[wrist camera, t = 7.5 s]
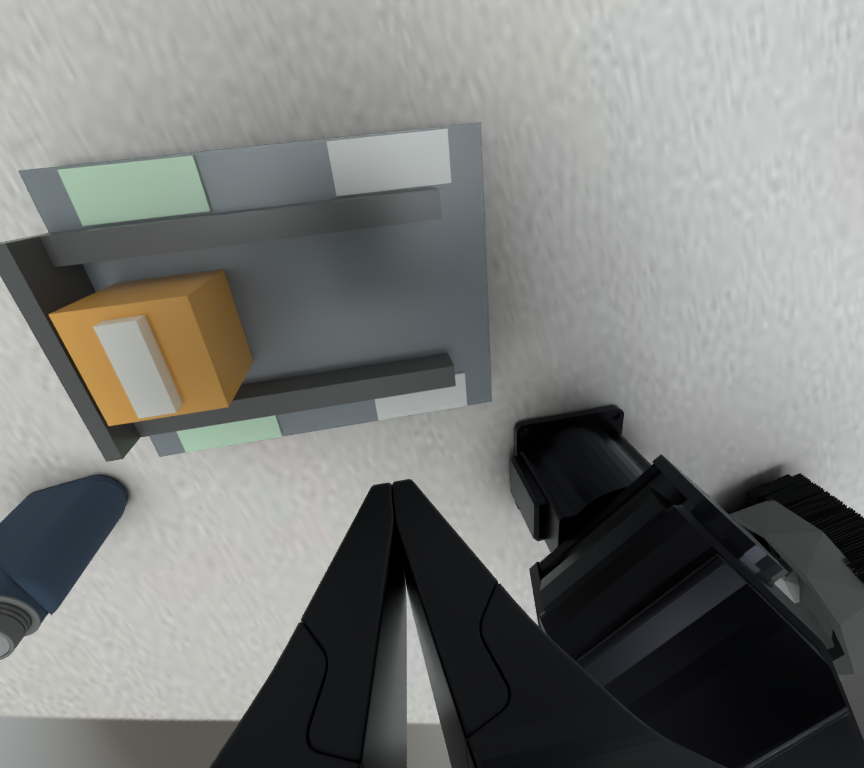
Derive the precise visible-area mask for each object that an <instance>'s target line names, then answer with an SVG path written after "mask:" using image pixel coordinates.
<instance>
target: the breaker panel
mask: <svg viewBox="0 0 864 768" xmlns="http://www.w3.org/2000/svg"><path fill="white" fill-rule="evenodd" d="M19 173H20V175H21V177H22V179H23V181H24V183H25V185H26V188H27V190H28V192H29V194H30V196H31V198H32V200H33V202H34V204H35V206H36V208H37V210H38V212H39V214H40V216H41V218H42V220H43V222H44V224H45V226H46V228H47V230H48V232H49V233H46V234H41V235H36V236H31V237H26V238H21V239H16V240H11V241H6V242H1V243H0V276H1V278H2V280H3V281H4V283H5V285H6V287H7V288H8V290H9V292H10V294H11V295H12V297H13V299H14V301H15V302H16V304H17V306H18V308H19V309H20V311H21V313H22V315H23V316H24V318H25V320H26V322H27V323H28V325H29V327H30V329H31V330H32V332H33V334H34V336H35V337H36V339H37V341H38V343H39V344H40V346H41V348H42V350H43V351H44V353H45V355H46V357H47V358H48V360H49V362H50V364H51V365H52V367H53V369H54V371H55V372H56V374H57V376H58V378H59V380H60V381H61V383H62V385H63V387H64V388H65V390H66V392H67V394H68V395H69V397H70V399H71V401H72V402H73V404H74V406H75V408H76V409H77V411H78V413H79V415H80V416H81V418H82V420H83V422H84V423H85V425H86V427H87V429H88V430H89V432H90V434H91V436H92V437H93V439H94V441H95V443H96V444H97V446H98V448H99V450H100V451H101V453H102V455H103V457H104V458H105V460H106V462H107V461H113V460H119V459H123V458H124V457H125V456H126V454H127V453H128V452H129V451H130V449H131V448H132V447H133V446H134V445H135V443H136V442H137V441H138V440H139V438H140V437H145V436H149V437H150V439H151V441H152V443H153V445H154V447H155V449H156V451H157V453H158V455H159V457H161V456H167V455H173V454H179V453H185V452H186V453H188V452H194V451H200V450H206V449H212V448H218V447H224V446H230V445H236V444H242V443H248V442H253V441H259V440H265V439H271V438H277V437H282V436H287V435H293V434H299V433H305V432H311V431H317V430H323V429H329V428H335V427H341V426H347V425H353V424H359V423H365V422H371V421H377V420H378V421H379V420H385V419H391V418H397V417H403V416H409V415H415V414H421V413H427V412H433V411H439V410H445V409H451V408H457V407H463V406H467V405H473V404H479V403H485V402H491V401H492V397H491V372H490V346H489V321H488V295H487V270H486V244H485V219H484V193H483V168H482V143H481V122H479V123H470V124H460V125H451V126H441V127H431V128H422V129H412V130H403V131H393V132H384V133H374V134H365V135H355V136H345V137H336V138H326V139H317V140H307V141H298V142H288V143H279V144H269V145H260V146H250V147H240V148H231V149H221V150H212V151H202V152H193V153H183V154H174V155H164V156H154V157H145V158H135V159H126V160H116V161H107V162H97V163H88V164H78V165H68V166H59V167H49V168H40V169H30V170H21V171H19ZM220 269H224V272H225V275H226V278H227V281H228V284H229V287H230V290H231V294H232V297H233V300H234V303H235V306H236V309H237V312H238V315H239V318H240V321H241V324H242V327H243V331H244V334H245V337H246V340H247V343H248V346H249V349H250V352H251V355H252V358H253V361H254V362H253V364H252V366H251V367H250V369H249V371H248V373H247V375H246V377H245V378H244V380H243V382H242V384H241V386H240V387H239V389H238V391H237V393H236V395H235V397H234V398H233V400H232V402H231V404H230V406H229V407H227V408H220V409H214V410H208V411H201V412H195V413H189V414H183V415H176V416H170V417H164V418H157V419H151V420H145V421H138V422H132V423H126V424H119V425H113V426H108V424H107V422H106V420H105V418H104V416H103V415H102V413H101V411H100V409H99V407H98V405H97V404H96V402H95V400H94V398H93V396H92V394H91V392H90V391H89V389H88V387H87V385H86V383H85V381H84V379H83V378H82V376H81V374H80V372H79V370H78V368H77V367H76V365H75V363H74V361H73V359H72V357H71V355H70V354H69V352H68V350H67V348H66V346H65V344H64V342H63V341H62V339H61V337H60V335H59V333H58V331H57V330H56V328H55V326H54V324H53V322H52V320H51V318H50V317H49V315H48V314H50V313H52V312H55V311H57V310H59V309H61V308H63V307H65V306H68V305H70V304H72V303H74V302H76V301H78V300H80V299H83V298H85V297H87V296H89V295H91V294H93V293H96V292H98V291H100V290H102V289H104V288H106V287H109V286H111V285H113V284H115V283H120V282H128V281H135V280H143V279H151V278H159V277H166V276H174V275H182V274H189V273H197V272H205V271H213V270H220Z"/></svg>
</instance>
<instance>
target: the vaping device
mask: <svg viewBox="0 0 864 768" xmlns="http://www.w3.org/2000/svg"><path fill="white" fill-rule="evenodd" d="M126 501H127V495H126V492H125V490H124V488H123V487H122V486H121V485H120V484H119V483H118V482H116V481H115V480H113V479H111V478H108V477H105V476H91V477H88V478H84V479H80V480H77V481H73V482H70V483H66V484H63V485H59V486H55V487H52V488H48V489H45V490H41V491H37V492H34V493H31V494H30V495H28V496H27V497H26V498H25V499H24V500H23V501H22V502H21V503H20V504H19V505H18V506H17V507H16V508H15V509H14V510H13V511H12V512H11V513H10V514H9V515H8V516H7V517H6V518H5V519H4V520H3V521H2V522H1V523H0V660H1V659H4V658H6V657H8V656H9V655H10V654H12V652H13V651H14V649H15V648H16V647H17V645H18V644H19V643H20V641H21V640H22V638H23V637H24V636H28V635H30V634H33V633H34V632H36V631H37V630H38V628H39V627H40V625H41V623H42V621H43V620H44V619H45V617H46V616H47V614H48V613H50V614H51V615H52V614H53V613H54V612H55V611H56V610H57V609H58V608H59V606H60V605H61V603H62V602H63V600H64V599H65V598H66V596H67V595H68V593H69V592H70V590H71V589H72V587H73V586H74V584H75V583H76V582H77V580H78V579H79V577H80V576H81V574H82V573H83V571H84V570H85V568H86V567H87V566H88V564H89V563H90V561H91V560H92V558H93V557H94V555H95V554H96V552H97V551H98V550H99V548H100V547H101V545H102V544H103V542H104V541H105V539H106V538H107V536H108V535H109V534H110V532H111V531H112V529H113V528H114V526H115V525H116V523H117V522H118V520H119V519H120V518H121V516H122V515H123V512H124V510H125V506H126Z"/></svg>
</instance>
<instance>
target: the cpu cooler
mask: <svg viewBox="0 0 864 768" xmlns="http://www.w3.org/2000/svg"><path fill="white" fill-rule="evenodd" d="M807 479H808V478H807V477H806V478H805V476H803V475H801V473H800V474H797V475H795V476H793V477H792V476H790V475H789V474H788V475H785V476H783V477H781V478H778V479H776V480H774V481H771V482H769V483H767V484H764V485H762V486H760V487H757V488H755V489H753V490H750V491H748V492H747V494H748V495H747V496H748V504H749V506H748V507H747V508H744V509H741V510H739V511H736V512H733V513H731V514H729V515H730V516H731V517H733V518H734V519H735V520H736V521H737V522H738V523H739V524H740V525H741V526H742V527H743V528H745V529H746V530H747V531H748V532H749V533H750V534H751V535H752V536H753V537H754V538H755V539H756V540H757V541H758V542H759V543H760V544H761V545H762V546H763V547H764V548H765V549H766V550H767V551H768V552H769V553H770V554H771V555H772V556H773V557H774V558H775V559H776V560H777V561H778V562H779V563H780V564H781V565H782V566H783V567H784V568H785V569H786V570H787V571H788V572H789V573H787V574H786V575H784V576H783V577H781V578H780V579H779V580H777V581H776V582H775V583H774V584H775V585H776V586H777V587H778V588H779V589H780V590H781V591H782V592H783V593H784V594H785V595H787V596H788V597H789V598H790V599H791V600H792V601H793V602H794V603H795V604H796V605H797V606H798V607H799V608H800V609H801V610H802V611H803V612H804V613H805V614H806V615H807V616H808V617H809V618H810V620H811V621H812V622H813V624H814V626H815V628H816V630H817V631H818V633H819V635H820V637H821V639H822V641H823V642H824V644H825V646H826V648H827V650H828V652H829V654H830V656H831V659H832V661H833V664H834V666H835V669H836V671H837V674H838V676H839V679H840V681H842V680H844V679H847V678H849V677H851V676H853V675H855V674H857V673H860V672H863V671H864V518H863V516H862V517H860V516H861V514H857V513H858V512H857V513H855V510H853V509H852V508H851V509H850V507H849V508H847V505H846V506H845V504H843V502H842V501H841V502H840V500H837V498H835V497H834V496H833V497H832V496H830V493H828V492H827V491H826V492H824V490H823V488H821V487H820V486H818V485H816V484H813V483H811V481H810V479H808V480H807ZM842 504H843V505H842Z"/></svg>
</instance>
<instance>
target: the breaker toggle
mask: <svg viewBox="0 0 864 768" xmlns="http://www.w3.org/2000/svg"><path fill="white" fill-rule="evenodd" d="M48 315H49V317H50V318H51V320H52V322H53V324H54V326H55V328H56V330H57V331H58V333H59V335H60V337H61V339H62V341H63V342H64V344H65V346H66V348H67V350H68V352H69V354H70V355H71V357H72V359H73V361H74V363H75V365H76V367H77V368H78V370H79V372H80V374H81V376H82V378H83V379H84V381H85V383H86V385H87V387H88V389H89V391H90V392H91V394H92V396H93V398H94V400H95V402H96V404H97V405H98V407H99V409H100V411H101V413H102V415H103V416H104V418H105V420H106V422H107V424H108V426H113V425H119V424H126V423H132V422H138V421H145V420H151V419H157V418H164V417H170V416H176V415H183V414H189V413H195V412H201V411H208V410H214V409H220V408H227V407H229V406H230V404H231V402H232V400H233V398H234V397H235V395H236V393H237V391H238V389H239V387H240V386H241V384H242V382H243V380H244V378H245V377H246V375H247V373H248V371H249V369H250V367H251V366H252V364H253V362H254V361H253V358H252V355H251V352H250V349H249V346H248V343H247V340H246V337H245V334H244V331H243V327H242V324H241V321H240V318H239V315H238V312H237V309H236V306H235V303H234V300H233V297H232V294H231V290H230V287H229V284H228V281H227V278H226V275H225V272H224V269H220V270H213V271H205V272H197V273H189V274H182V275H174V276H166V277H159V278H151V279H143V280H135V281H128V282H120V283H115V284H113V285H111V286H109V287H106V288H104V289H102V290H100V291H98V292H96V293H93V294H91V295H89V296H87V297H85V298H83V299H80V300H78V301H76V302H74V303H72V304H70V305H68V306H65V307H63V308H61V309H59V310H57V311H55V312H52V313H50V314H48Z"/></svg>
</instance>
